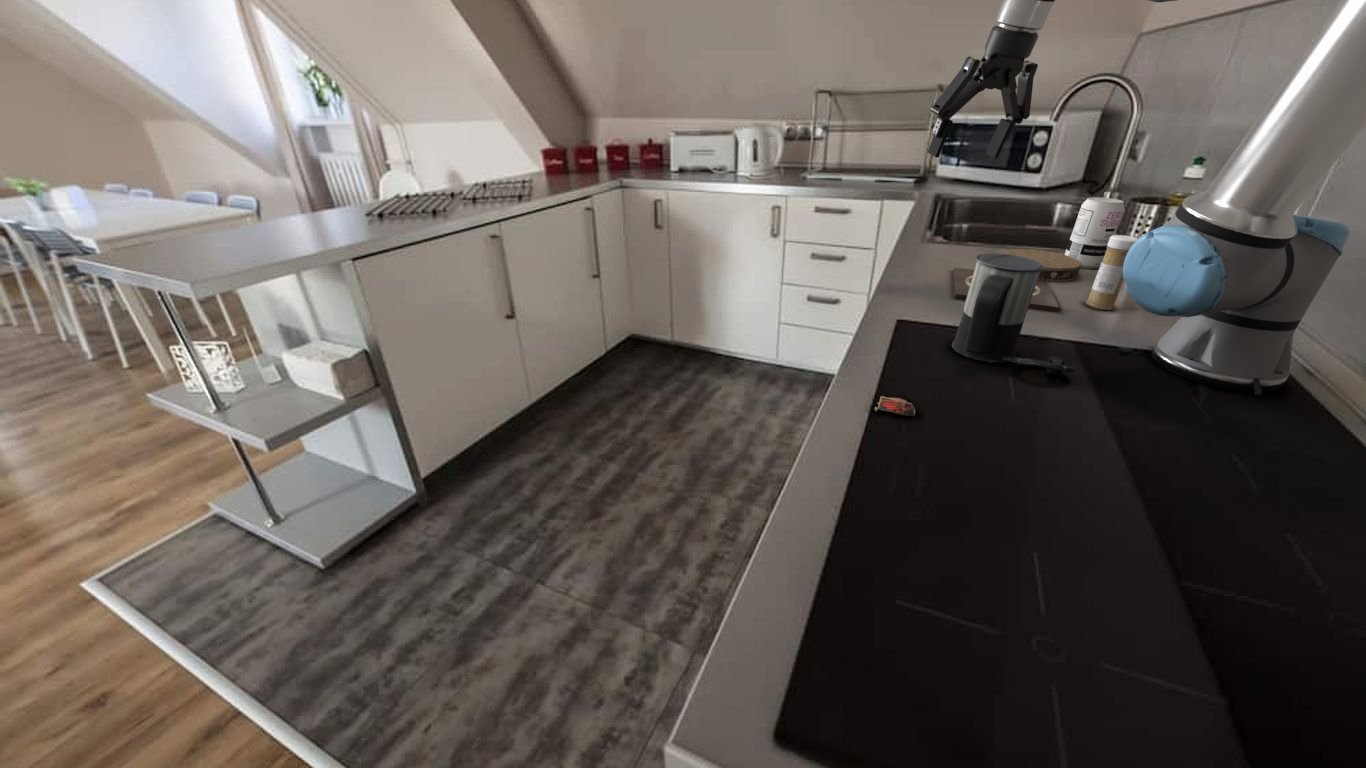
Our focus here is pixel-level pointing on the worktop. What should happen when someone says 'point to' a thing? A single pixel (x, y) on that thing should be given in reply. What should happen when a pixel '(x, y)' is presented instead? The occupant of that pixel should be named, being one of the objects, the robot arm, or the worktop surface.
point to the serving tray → (1039, 300)
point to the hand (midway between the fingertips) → (962, 155)
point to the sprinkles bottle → (1110, 273)
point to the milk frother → (1000, 311)
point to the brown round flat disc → (1051, 264)
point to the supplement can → (1094, 230)
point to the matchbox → (896, 406)
